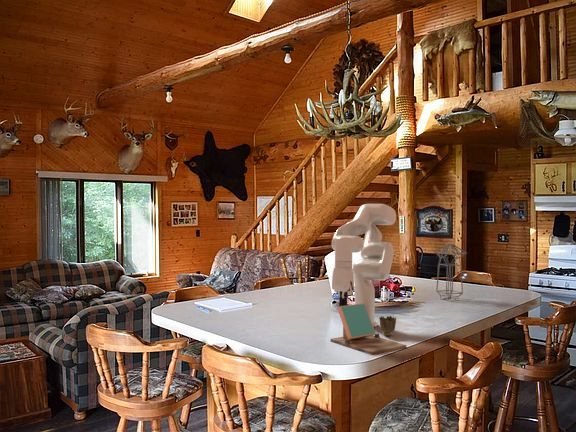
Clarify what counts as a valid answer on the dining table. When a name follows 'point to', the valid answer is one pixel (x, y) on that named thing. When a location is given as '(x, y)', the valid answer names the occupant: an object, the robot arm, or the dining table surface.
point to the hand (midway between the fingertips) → (343, 306)
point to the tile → (356, 321)
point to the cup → (387, 325)
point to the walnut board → (368, 344)
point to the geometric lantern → (450, 268)
